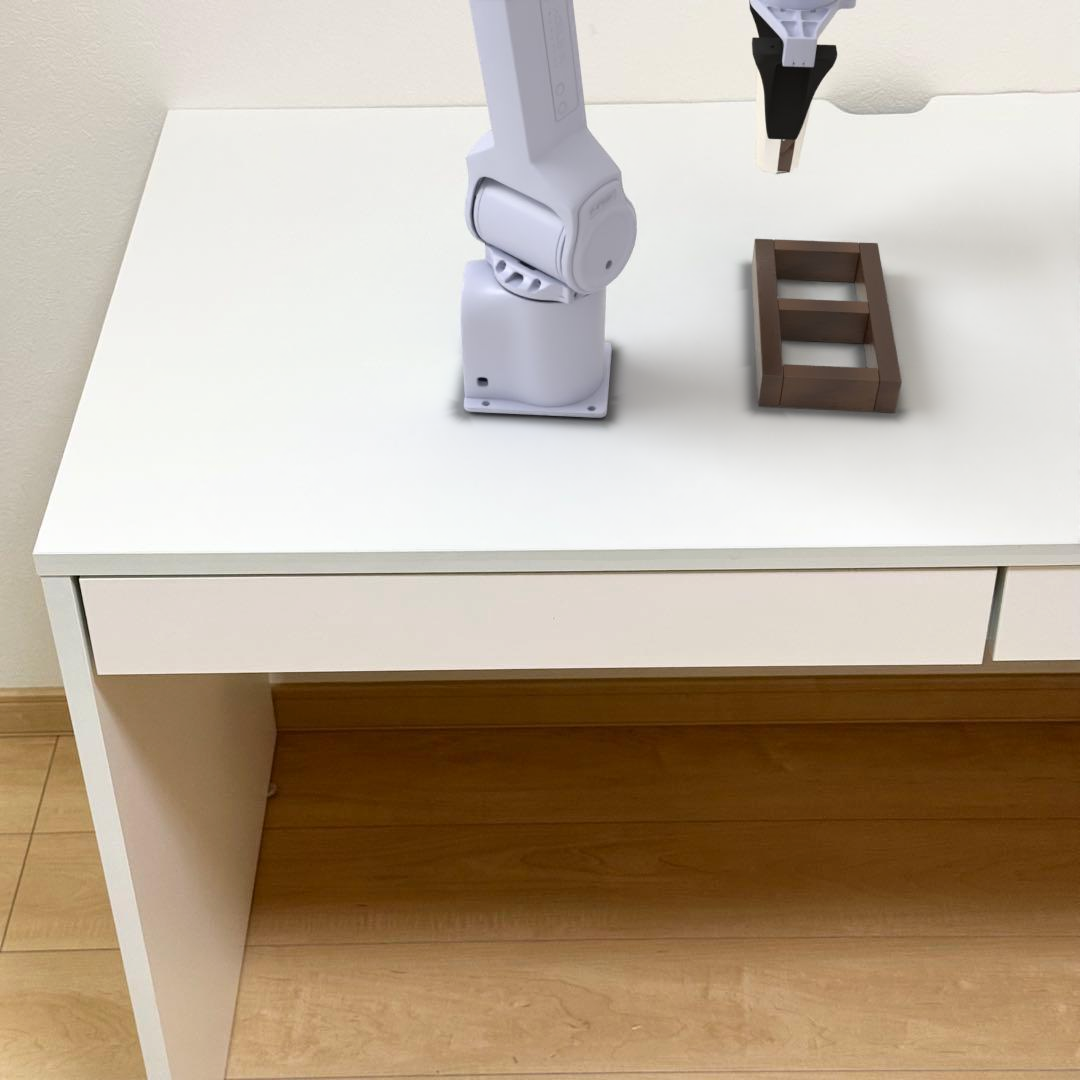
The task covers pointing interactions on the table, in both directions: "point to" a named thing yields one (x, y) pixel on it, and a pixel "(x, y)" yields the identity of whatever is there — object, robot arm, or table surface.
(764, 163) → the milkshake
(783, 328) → the rack
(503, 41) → the robot arm
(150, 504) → the table surface
